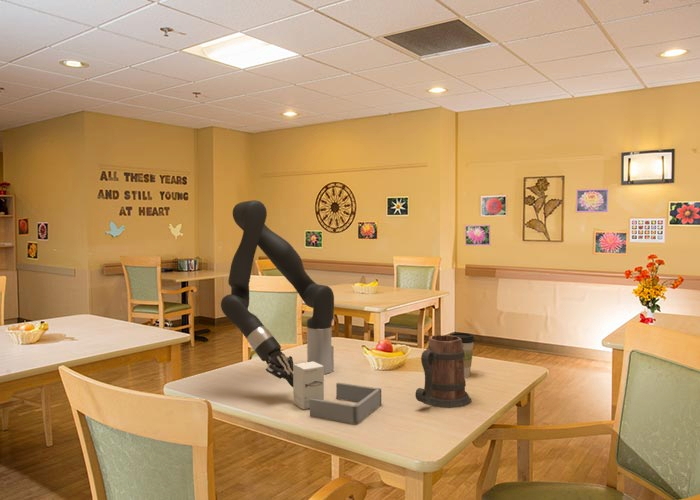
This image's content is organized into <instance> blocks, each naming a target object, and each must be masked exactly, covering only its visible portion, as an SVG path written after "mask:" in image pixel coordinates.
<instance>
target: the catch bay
mask: <svg viewBox="0 0 700 500" xmlns="http://www.w3.org/2000/svg"><path fill="white" fill-rule="evenodd" d="M335 389H336V399H337V400H341V401H349V402H355V403H356V404H349V403H342V402H336V401H331V400H325V399H324V400H319V399H313V398H312V399H310V408H309V416H310V417H312V418H318V419H322V420H323V419H324V420H329V421H334V422H340V423H346V424H350V425H356V426H357V425H358V424H360V423H361V422H362V421H363V420H364V419H365V418H367V417H368V416H369V415H370V414H372V413H373V412H374V411H375V410H376V409H379V407H380V406H382V388H380V387H379V388H378V387H373V386H365V385H359V384H358V385H357V384H351V383H345V382H339V381H338V382H336V388H335Z"/></svg>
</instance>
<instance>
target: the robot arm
mask: <svg viewBox="0 0 700 500" xmlns="http://www.w3.org/2000/svg"><path fill="white" fill-rule="evenodd" d="M267 212H268V211H267V208H266V206H265V204H264V203H263V202H261V201H259V200H253V199H252V200H247V201H241V202H238V203H236V204H235V205H234V207H233V209H232V218H233V221H234V223H235V224H236V226H238V227H239V228H240V229H241V230H242V231H243V232H242V237H241V240H240V243H239V244H238V247H237V249H236V251H235V253H234V256H233V258H232V259H231V261H232V262H231V264H230V270H229V275H228V280H227V281H228V285H229V287H230V290H231V291H230V294H226V295H225V296H224V297H222V299H221V301H220V308H221V311H222V313H223V315H225V316H226V318H227V319H228V320H229V321H230V322H231V323H232V324H234V325H235V326H236V327H237V328H238V329H239V331H240V332H241V334H242V335H243V337H245V339H246V340H247V341H248V343H249V345H250V346H251V348H252V350H253V351H254V352H255V354H256V355H257V356H258V357H259V358H260V360H261V361H262V362H266V365H267V367H266V368H265V371H266V372H267V373H269V374H271V376H274V377H276V378H278V379H284V380H286V382H287V383H288V384H289V386H290V387H291V388H293V364H294V360H293V359H294V358H293V357H292V356H291V355H289V356H286V355H285V353H283V352H282V351H281V348H282V345H280V343H279V342H278V341H277V339H276V338H275V337H274V335H273V334H272V333H271V332H270V330H269V329H268V328H267V327H266V326H265V325H264V323H262V321H261V320H260V319H259V317H258V316H257V315H256V314H254V313H251V312H250V311H249V306H250V280H251V275H252V268H253V264H254V259H255V255H256V251H257V248H258V247H259V249H260V250H261V251H262V252H263V253H264V254H265V256H266V257H267V258H268V259H269V260H270V262H271V263H272V264H273V266H274V267H275V268H276V269H277V270H278V271H279V272H280V273H281V274H282V276H283V277H284V278H285V279H286V280H287V281H288V282H289V283H290V285H292V287H293V288H294V289H295V291H296V292H297V295H299V297H300V298H301V300H302V301H303V303H304V304H305V305H306V306H307V307H309V308H312V309H313V310H312V317H310V318H308V319H307V321H306V339H307V340H306V348H307V349H306V351H307V352H306V353H307V354H306V357H307V358H306V362H312V361H314V362H316V363H318V364H320V365H322V366H324V375H328V374H330V373H331V372H334V371H335V370H334V369H335V368H334V366H335V363H334V361H335V359H334V356H335V355H334V353H335V352H334V351H335V350H334V348H335V347H334V346H333V345H332V322H333V319H334V313H335V312H334V311H335V310H334V309H335V295H334V291H333V290H332V288H331V287H330V286H328V285H323V284H318V283H317V282H315V280H313V279H312V278H311V277H310V276H309V275H308V273H307V272H306V270H305V267H304V264H303V259H302V258H301V256H300V254H299V253H298V252H297V251H296V249H295V248H294V247H293V246H292V245H291V244H290V242H288V241H287V240H286V239H285V238H283V237H282V236H280V235H278V234H277V233H276V232H274V231H273V230H272V229H270V228H269V227H268V226H267V225H266V220H267V216H268V215H267V214H268V213H267Z"/></svg>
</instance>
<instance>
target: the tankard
mask: <svg viewBox="0 0 700 500" xmlns="http://www.w3.org/2000/svg"><path fill="white" fill-rule="evenodd" d="M429 336H430V335H429ZM428 340H429V341H428V346H427V348H426V349H425V350H424V351H422V353H421V356H420V359H421V366H422V369H423V372H424V387H423V388H422V387H419V388H416V391H415V399H416V400H417V401H418V402H419V403H420V402H421V403H423V404H425V405H426V406H430V407H435V408H440V409H458V408H463V407H466V406H469V405H470V404H472V398H471V397H470V395H469V394H468V392H466V378H465V377H464V350H463V345H462V339H461V338H459V337H457V336H451V335H450V334H449V335H448V334H445V335H444V334H443V335H441V334H434V335H431V336H430V337H429V339H428Z"/></svg>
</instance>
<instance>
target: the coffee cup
mask: <svg viewBox="0 0 700 500" xmlns="http://www.w3.org/2000/svg"><path fill="white" fill-rule="evenodd" d="M449 335H451V336H457V337H459V338H461V339H462V345H463V350H464V378H467V377H470V373H471V367H472V363H473V356H474V355H473V354H474V342H476V339H475V337H474V335H473V334H472V333H467V332H452V333H450V334H449Z"/></svg>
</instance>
